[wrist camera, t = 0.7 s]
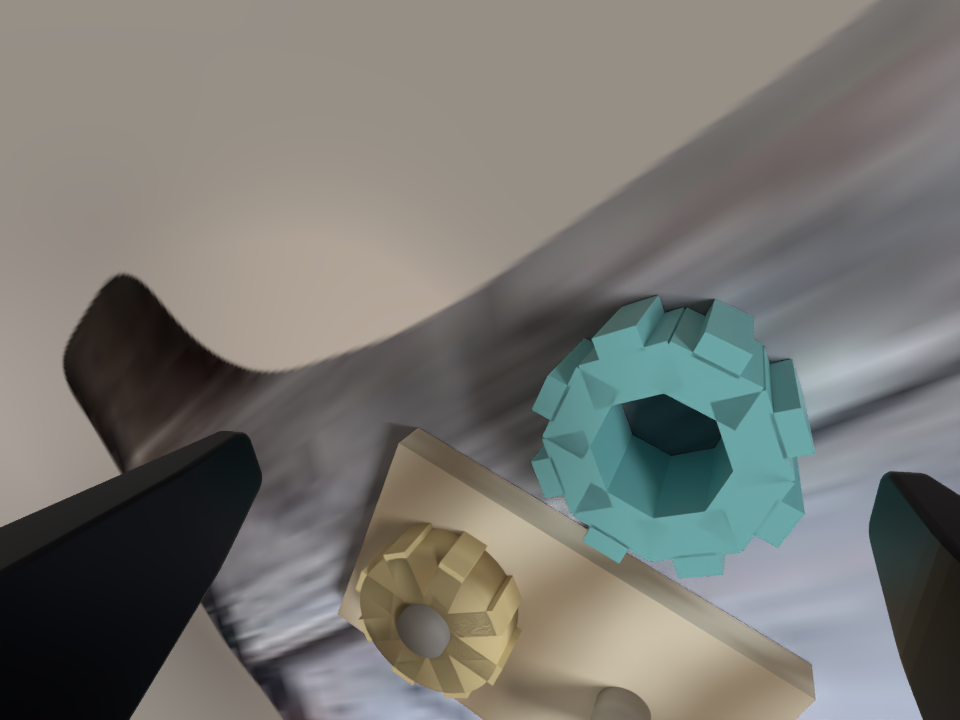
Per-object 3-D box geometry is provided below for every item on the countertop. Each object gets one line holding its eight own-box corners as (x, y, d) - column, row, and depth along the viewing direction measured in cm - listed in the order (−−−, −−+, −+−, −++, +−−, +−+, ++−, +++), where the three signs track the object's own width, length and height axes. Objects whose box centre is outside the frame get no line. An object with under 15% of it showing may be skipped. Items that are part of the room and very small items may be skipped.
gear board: (811, 664, 20) (831, 842, 15) (669, 813, 24) (646, 992, 19) (418, 427, 24) (323, 501, 18) (356, 593, 28) (266, 690, 23)
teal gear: (856, 364, 17) (881, 417, 13) (724, 543, 20) (717, 623, 16) (624, 256, 18) (594, 277, 15) (536, 435, 22) (495, 487, 18)
